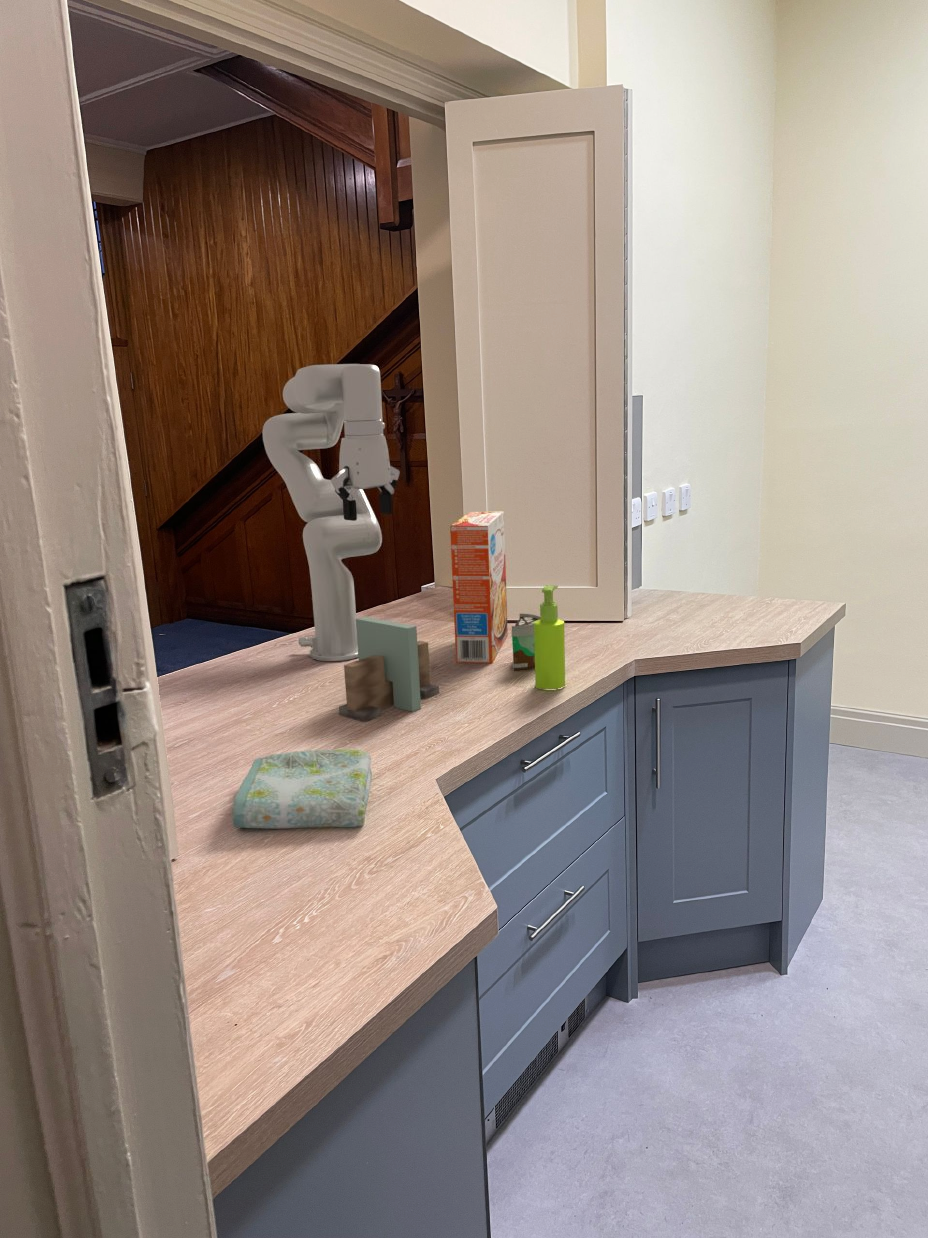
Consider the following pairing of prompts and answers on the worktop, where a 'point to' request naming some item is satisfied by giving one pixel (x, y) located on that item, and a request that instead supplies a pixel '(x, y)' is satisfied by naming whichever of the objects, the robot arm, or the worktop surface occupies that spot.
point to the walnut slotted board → (378, 685)
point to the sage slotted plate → (393, 656)
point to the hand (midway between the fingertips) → (368, 516)
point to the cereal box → (479, 586)
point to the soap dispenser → (549, 644)
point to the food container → (524, 642)
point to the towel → (305, 790)
